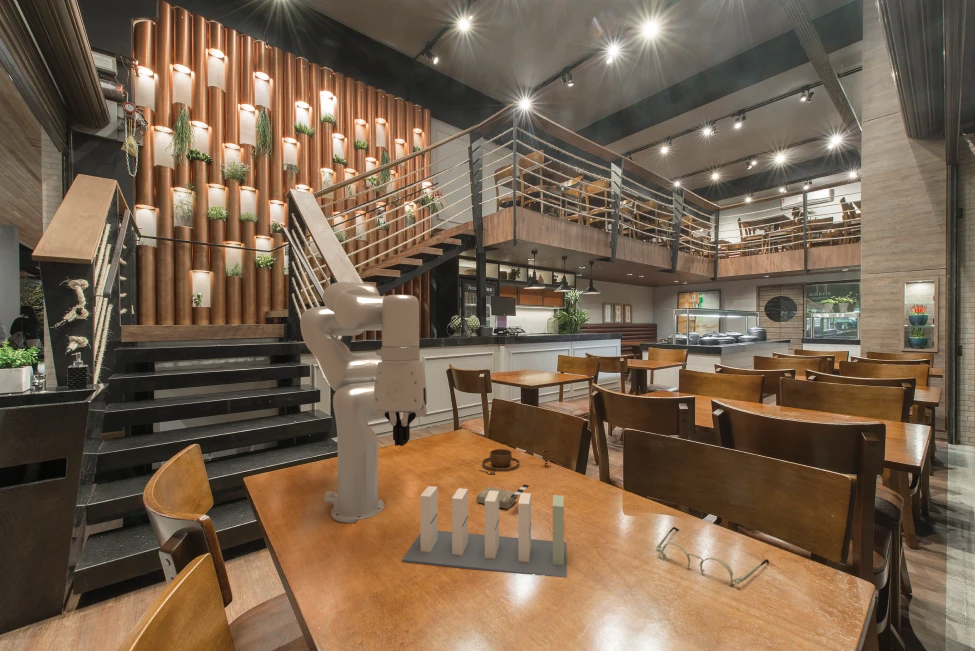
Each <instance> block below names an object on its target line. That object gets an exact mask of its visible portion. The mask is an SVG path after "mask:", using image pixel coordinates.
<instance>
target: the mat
mask: <svg viewBox="0 0 975 651" xmlns="http://www.w3.org/2000/svg"><path fill="white" fill-rule="evenodd" d="M567 548H568V547H567V542H566V541H564V566H563V565H554V564H553V540H547V539H546V540H545V539H536V538H535V539H532V538H531V552H530V559H529V562H522V561H518V537H514V536H513V537H512V536H511V537H509V536H500V535H499V547H498V551H497V554H496V557H495V559H493V558H485V534H479V533H469V532H468V543H467V546H466V548H465V550H464V552H463V555H453V554H452V531H444V530H438V540H437V541H436V543H435V545H434V547H433V548H432V550H431V552H424V551H421V542H420V533H419V534H418V535H417V537H416V538H415V540H414V542H412V544H411V545H410V547H409V548H408V550H407V552H406V553H405V555H404V556H403V558H402V559H401V562H402V563H409V564H419V565H426V566H427V565H428V566H436V567H439V566H440V567H446V568H456V569H466V570H474V571H485V572H495V573H496V572H498V573H510V574H521V575H531V576H533V575H532V574H535V575H534V576H542V575H545V576H546V577H557V578H568V573H567V572H568V571H567V569H568V567H567V566H568V565H567V562H568V561H567V554H568V552H567ZM545 576H544V577H545Z"/></svg>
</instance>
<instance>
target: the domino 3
mask: <svg viewBox="0 0 975 651" xmlns="http://www.w3.org/2000/svg"><path fill="white" fill-rule="evenodd" d="M484 535H485V558H493V559H495V557H496V554H497V551H498V547H499V536H500V508H499V491H489V492H488V494H487V497H486V499H485V504H484Z"/></svg>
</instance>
